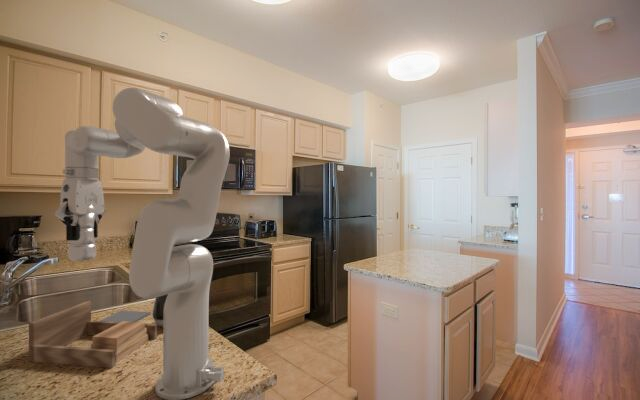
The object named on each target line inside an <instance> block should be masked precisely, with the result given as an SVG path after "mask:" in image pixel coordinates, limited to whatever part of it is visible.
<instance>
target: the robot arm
mask: <svg viewBox="0 0 640 400" xmlns="http://www.w3.org/2000/svg"><path fill="white" fill-rule="evenodd" d="M112 113H113V116H114V118H115V120H114V128H115V130H111V129H107V128H101V127H95V126H90V125H82V126H81V125H80V126H79V127H77V128H76V129H73V130H72V129H71V130H68V131H66V133H65V134H64V169H63V170H62V174H63V175H64V179H63V181H62V184H61V190H60V199H59V202H60V203H59V207H58V208H57V209H56V210H55V212H54V215H55V217H57V218H58V219H59V221H61V222H62V224H63V226H64V227H66V228H65V231H66V232H65V235H66V237H65V239H66V241H70V240H74V241H76V240H78V239H79V227H78V226H76V224H77V221H78V215H85V214H88V213H87V208H88V207H89V206H93V207H94V208H95V220H94V239H96V238H98V228H99V226H98V224H100V223H101V221H100V220H101V219H102V218H103V216H105V215H106V213H107V211H106V209H105V195H104V189H103V183H102V181H101V180H99V157H106V158H107V157H108V158H115V159H127V158H132V157H134V156H137V155H140V154H142V153H143V152H144V151H145V149H146V148H147V149H149V150H150V151H153V152H154V153H159V154H163V155H170V156H177V157H185V158H191V159H193V160H194V161H193V162H192V163H190V165H189V166H188V167H187V169H185V171H184V173H183V175H182V177H181V181H180V186H179V192H178V195H177V197H176V198H164V199H163V198H161V199H156V200H155V199H154V200H152V201H151V202H149V203H147V204H146V205H145V206H144V207H143V208H142V210H141V212H140V213H139V214H138V215H139V216H138V218H137V222H136V226H135V227H136V228H135V230H134V231H135V233H134V238H133V243H132V250H131V255H130V257H131V258H130V263H129V271H128V276H129V277H128V279H129V285H130V289H131V291H132V292H133V293H134V295H136V297H138V298H141V299H147V300H148V299H156V297H160V296H163V295H166V294H168V296H167V298H166V301H165V305H164V311H163V327H162V332H163V333H162V340H163V341H162V351H163V353H162V357H163V358H162V367H163V368H162V371H163V373H162V375H161V376H160V377H159V378H158V379H157V381H156V383H155V390H154V391H155V394H156V395H157V396H158V397H159V398H161V399H164V400H185V399H189V398H193V397H195V396H198V395H200V394H202V393H203V392H205V391H207V390H209V388H210V387H212V385H214V383H215V382H221V383H222V382H223V380H224V378H225V372H224V366H219V365H218V366H215V365H214V362H213V361H214V359H213V358H209V351H210V350H209V348H210V347H209V330H210V329H209V326H210V325H209V317H210V316H209V313H210V310H209V308H210V307H209V306H210V305H209V301H210V287H211V281H212V278H213V273H214V259H213V255H212V253H211V252H210V250H208V248H206V247H204V246H203V245H200V244H194V242H198V241H203V240H205V239H207V238H209V237H210V236H211V235H212V233H213V231H214V227H215V223H216V218H217V214H218V208H219V204H220V203H219V202H220V198H221V193H222V186H223V181H224V178H225V175H226V172H227V168H228V166H229V162H230V157H231V155H230V154H231V153H230V152H231V149H230V145H229V141H228V140H227V137H226V136H225V135H224V133H223V132H222V131H220V129H218V128H216V127H214V126H213V125H210V124H208V123H205V122H203V121H199V120H196V119H193V118H189V117H185V116H184V112H183V110H182V109H181V107H180V106H179V105H178V104H177V103H176V102H175V101H173V100H171V99H170V98H168V97H165V96H162V95H158V94H156V93H153V92H149V91H148V90H144V89H142V88H137V87H127V88H124V89H122V90H121V91H119V92H118V93H117V94H116V95H115V97H114V99H113V102H112ZM70 212H71V213H74V214H70ZM71 217H73V218H72V220H71ZM188 243H191V244H188ZM192 243H193V244H192ZM182 244H183V245H182Z"/></svg>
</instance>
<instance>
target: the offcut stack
mask: <svg viewBox="0 0 640 400" xmlns="http://www.w3.org/2000/svg"><path fill="white" fill-rule="evenodd" d="M145 324H146V323H145V322H144V321H137V322H131V321H122V322H120V323H118V324H116V325H115V326H113V327H111V328H109V329H107V330H105V331H103V332H101V333H99V334H97V335H92V343H90V348H95V349H109V350H115V363H118V362H119V361H121V360H122V359H124V358H125V357H127V356H128V355H130V354H131V353H133V352H134V351H135V350H137V349H139V348H140V347H142V346H143V345H145V344H146V343H147V342H149V339H148V334H147V328H145Z"/></svg>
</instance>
